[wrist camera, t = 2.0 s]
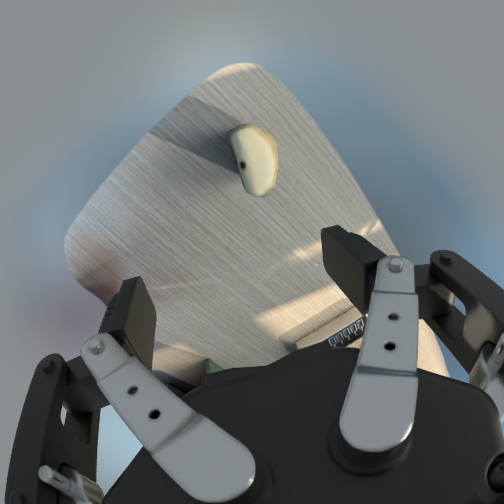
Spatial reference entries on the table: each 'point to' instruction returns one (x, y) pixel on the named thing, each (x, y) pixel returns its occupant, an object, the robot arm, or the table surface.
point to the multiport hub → (338, 330)
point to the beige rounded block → (255, 158)
